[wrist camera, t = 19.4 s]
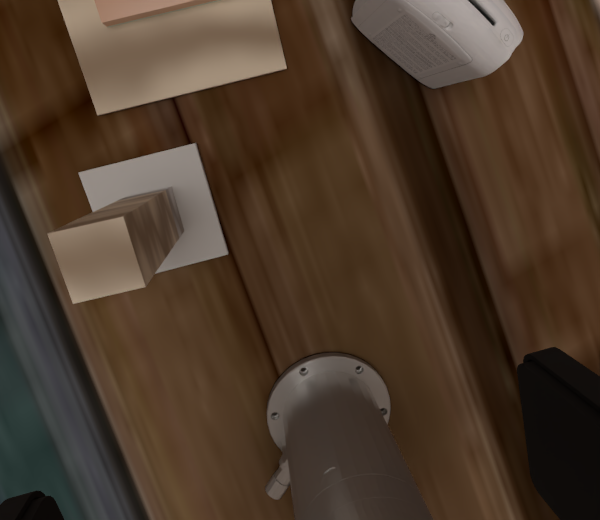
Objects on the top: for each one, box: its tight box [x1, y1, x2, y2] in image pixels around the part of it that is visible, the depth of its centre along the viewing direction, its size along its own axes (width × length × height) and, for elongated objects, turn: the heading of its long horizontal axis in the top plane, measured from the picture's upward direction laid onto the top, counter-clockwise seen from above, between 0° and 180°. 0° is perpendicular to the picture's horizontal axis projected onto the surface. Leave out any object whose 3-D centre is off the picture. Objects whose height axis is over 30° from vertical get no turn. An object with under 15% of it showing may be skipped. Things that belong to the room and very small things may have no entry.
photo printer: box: [351, 0, 523, 89], centre depth 34 cm, size 10×4×12 cm, turn 54°
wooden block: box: [48, 186, 184, 304], centre depth 33 cm, size 4×4×16 cm
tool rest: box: [79, 143, 229, 273], centre depth 41 cm, size 10×10×1 cm
